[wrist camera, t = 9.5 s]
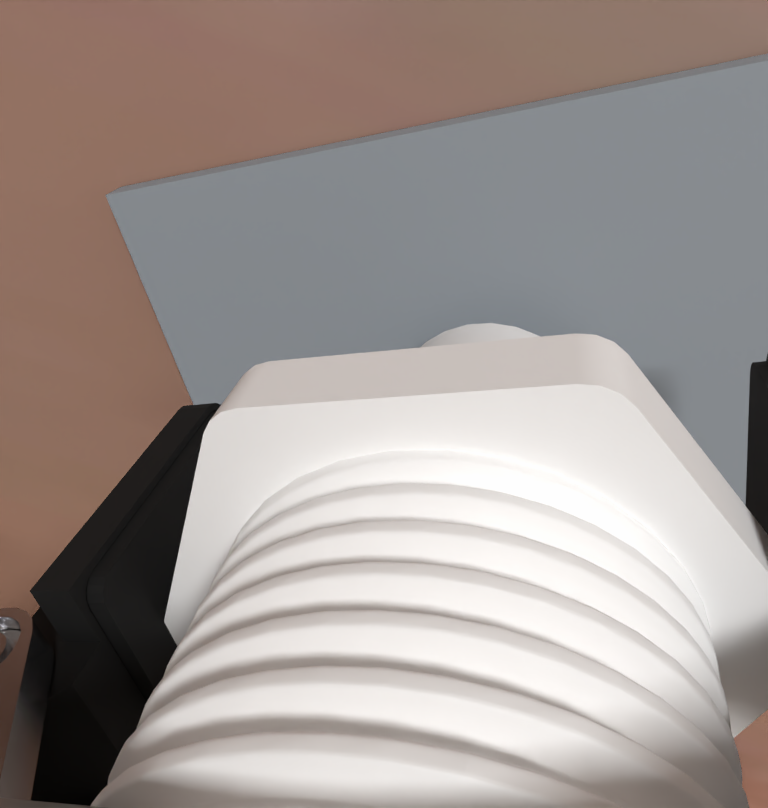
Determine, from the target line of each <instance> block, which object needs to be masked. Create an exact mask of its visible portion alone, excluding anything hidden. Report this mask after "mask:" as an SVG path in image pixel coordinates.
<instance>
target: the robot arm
mask: <svg viewBox="0 0 768 808" xmlns="http://www.w3.org/2000/svg"><path fill="white" fill-rule="evenodd" d="M220 406H221V404H218V403H209V404H199V405H189V406H183V407H182V408H180V409H179V410H178V411H177V413H176V414H175V415H174V416H173V417H172V419H171V420H170V421H169V422H168V423H167V425H166V426H165V427H164V428H163V430H162V431H161V432H160V433H159V434H158V436H157V437H156V438H155V439H154V441H153V442H152V443H151V444H150V445H149V447H148V448H147V449H146V450H145V451H144V453H143V454H142V455H141V456H140V458H139V459H138V460H137V461H136V462H135V464H134V465H133V466H132V467H131V469H130V470H129V471H128V472H127V473H126V475H125V476H124V477H123V478H122V479H121V481H120V482H119V483H118V484H117V486H116V487H115V488H114V489H113V490H112V492H111V493H110V494H109V495H108V497H107V498H106V499H105V500H104V501H103V503H102V504H101V505H100V506H99V507H98V509H97V510H96V511H95V512H94V514H93V515H92V516H91V517H90V518H89V520H88V521H87V522H86V523H85V525H84V526H83V527H82V528H81V529H80V531H79V532H78V533H77V534H76V535H75V537H74V538H73V539H72V540H71V542H70V543H69V544H68V545H67V546H66V548H65V549H64V550H63V551H62V553H61V554H60V555H59V556H58V557H57V559H56V560H55V561H54V562H53V563H52V565H51V566H50V567H49V568H48V570H47V571H46V572H45V573H44V574H43V576H42V577H41V578H40V579H39V581H38V582H37V583H36V584H35V585H34V587H33V588H32V589H31V590H30V592H31V593H32V595H33V596H34V598H35V599H36V601H37V602H38V604H39V605H40V608H39V609H38V610H37V612H36V613H35V614H34V615H33V617H32V618H31V617H30V615H29V614H28V612H27V611H24V610H21V609H19V608H1V609H0V808H106V807H95V806H91V804H92V802H93V801H94V800H95V798H96V797H97V796H98V794H99V793H100V792H101V791H102V790H103V789H104V788H105V787H106V786H107V785H108V778H109V774H110V772H111V770H112V768H113V766H114V764H115V761H116V759H117V757H118V755H119V753H120V751H121V749H122V747H123V745H124V743H125V742H126V740H127V739H128V738H129V737H130V736H131V735H132V734H133V733H134V732H135V730H136V728H137V726H138V723H139V720H140V718H141V715H142V712H143V709H144V707H145V704H146V702H147V701H148V699H149V697H150V695H151V694H152V692H153V690H154V689H155V687H156V686H157V685H158V684H159V682H160V681H161V680H162V678H163V676H164V673H165V670H166V667H167V665H168V663H169V661H170V659H171V657H172V656H173V654H174V652H175V650H176V648H177V644H176V643H175V641H174V639H173V637H172V635H171V633H170V632H169V630H168V628H167V626H166V624H165V623H164V619H165V614H166V609H167V604H168V600H169V595H170V590H171V585H172V581H173V576H174V571H175V566H176V561H177V557H178V552H179V547H180V542H181V538H182V533H183V528H184V523H185V519H186V514H187V509H188V504H189V500H190V495H191V490H192V485H193V481H194V476H195V471H196V466H197V462H198V457H199V452H200V447H201V443H202V438H203V433H204V431H205V429H206V427H207V425H208V423H209V421H210V419H211V418H212V417H213V415H214V414H215V413H216V411H217V410H218V409H219V407H220ZM746 507H747V508H748V510H749V511H750V512H751V514H752V515H753V516H754V517H755V519H756V520H757V521H758V523H759V524H760V525H761V526H762V528H763V529H764V530H765V532H766V533H767V534H768V354H767V358H766V361H762V362H753V363H752V364H751V368H750V386H749V416H748V446H747V476H746Z"/></svg>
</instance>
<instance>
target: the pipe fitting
mask: <svg viewBox="0 0 768 808" xmlns="http://www.w3.org/2000/svg"><path fill="white" fill-rule="evenodd" d="M164 623H165V624H166V626H167V628H168V630H169V632H170V633H171V635H172V637H173V639H174V641H175V643H176V644H177V648H176V650H175V652H174V654H173V656H172V657H171V659H170V661H169V663H168V665H167V667H166V670H165V673H164V676H163V678H162V680H161V681H160V682H159V684H158V685H157V686H156V687H155V689H154V690H153V692H152V694H151V695H150V697H149V699H148V701H147V702H146V704H145V707H144V709H143V712H142V715H141V718H140V720H139V723H138V726H137V728H136V730H135V732H134V733H133V734H132V735H131V736H130V737H129V738H128V739H127V740H126V742H125V743H124V745H123V747H122V749H121V751H120V753H119V755H118V757H117V759H116V761H115V764H114V766H113V768H112V770H111V772H110V774H109V778H108V785H107V786H106V787H105V788H104V789H103V790H102V791H101V792H100V793H99V794H98V796H97V797H96V798H95V800H94V801H93V802H92V804H91V806H95V807H106V808H749V805H748V801H747V797H746V794H745V791H744V789H743V788H742V771H741V765H740V760H739V755H738V751H737V748H736V745H735V742H734V737H735V736H737V735H738V734H739V733H740V732H741V731H743V730H744V729H745V728H746V727H747V726H749V725H750V724H751V723H752V722H753V721H754V720H756V719H757V718H758V717H759V716H760V715H762V714H763V713H764V712H765V711H766V710H768V534H767V533H766V532H765V530H764V529H763V528H762V526H761V525H760V524H759V523H758V521H757V520H756V519H755V517H754V516H753V515H752V514H751V512H750V511H749V510H748V508H747V507H746V506H745V504H744V503H743V502H742V501H741V499H740V498H739V497H738V495H737V494H736V493H735V492H734V490H733V489H732V488H731V486H730V485H729V484H728V483H727V481H726V480H725V479H724V477H723V476H722V475H721V473H720V472H719V471H718V470H717V468H716V467H715V466H714V464H713V463H712V462H711V461H710V459H709V458H708V457H707V455H706V454H705V453H704V452H703V450H702V449H701V448H700V446H699V445H698V444H697V442H696V441H695V440H694V439H693V437H692V436H691V435H690V433H689V432H688V431H687V430H686V428H685V427H684V426H683V424H682V423H681V422H680V420H679V419H678V418H677V417H676V415H675V414H674V413H673V411H672V410H671V409H670V408H669V406H668V405H667V404H666V402H665V401H664V400H663V399H662V397H661V396H660V395H659V393H658V392H657V391H656V389H655V388H654V387H653V386H652V384H651V383H650V382H649V380H648V379H647V378H646V377H645V375H644V374H643V373H642V371H641V370H640V369H639V368H638V366H637V365H636V364H635V362H634V361H633V360H632V358H631V357H630V356H629V355H628V354H627V353H626V352H625V351H624V350H623V349H622V348H621V347H619V346H618V345H617V344H616V343H615V342H613V341H611V340H608V339H606V338H603V337H601V336H598V335H593V334H576V333H575V334H564V335H553V336H542V337H540V336H538V335H536V334H533V333H531V332H528V331H526V330H523V329H520V328H518V327H514V326H508V325H502V324H495V323H483V324H467V325H464V326H460V327H457V328H454V329H450V330H447V331H444V332H442V333H441V334H439V335H437V336H435V337H434V338H432V339H430V340H428V341H427V342H425V343H424V344H423V345H422V346H421V347H420V348H410V349H399V350H388V351H377V352H366V353H355V354H344V355H333V356H322V357H311V358H300V359H289V360H278V361H268V362H265V363H261V364H258V365H255V366H253V367H252V368H251V369H250V370H248V371H247V372H246V373H244V375H243V376H242V377H241V379H240V380H239V381H238V383H237V384H236V386H235V387H234V388H233V390H232V391H231V392H230V394H229V395H228V396H227V398H226V399H225V400H224V402H223V403H222V405H221V406H220V407H219V409H218V410H217V411H216V413H215V414H214V415H213V417H212V418H211V419H210V421H209V423H208V425H207V427H206V429H205V431H204V433H203V438H202V443H201V447H200V452H199V457H198V462H197V466H196V471H195V476H194V481H193V485H192V490H191V495H190V500H189V504H188V509H187V514H186V519H185V523H184V528H183V533H182V538H181V542H180V547H179V552H178V557H177V561H176V566H175V571H174V576H173V581H172V585H171V590H170V595H169V600H168V604H167V609H166V614H165V619H164Z"/></svg>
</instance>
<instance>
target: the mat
mask: <svg viewBox="0 0 768 808" xmlns="http://www.w3.org/2000/svg"><path fill="white" fill-rule="evenodd" d="M106 197H107V200H108V202H109V205H110V207H111V209H112V212H113V214H114V217H115V219H116V221H117V224H118V226H119V228H120V231H121V233H122V236H123V238H124V240H125V243H126V245H127V247H128V250H129V252H130V255H131V257H132V259H133V262H134V264H135V266H136V269H137V271H138V274H139V276H140V278H141V281H142V283H143V285H144V288H145V290H146V293H147V295H148V297H149V300H150V302H151V304H152V307H153V309H154V312H155V314H156V316H157V319H158V321H159V323H160V326H161V328H162V331H163V333H164V335H165V338H166V340H167V342H168V345H169V347H170V350H171V352H172V354H173V357H174V359H175V361H176V364H177V366H178V369H179V371H180V373H181V376H182V378H183V380H184V383H185V385H186V388H187V390H188V392H189V395H190V397H191V399H192V402H193V404H194V405H199V404H209V403H218V404H221V405H222V403H223V402H224V400H225V399H226V398H227V396H228V395H229V394H230V392H231V391H232V390H233V388H234V387H235V386H236V384H237V383H238V381H239V380H240V379H241V377H242V376H243V375H244V373H246V372H247V371H248V370H250V369H251V368H252V367H253V366H255V365H258V364H261V363H265V362H268V361H278V360H289V359H300V358H311V357H322V356H333V355H344V354H355V353H366V352H377V351H388V350H399V349H410V348H420V347H421V346H422V345H423V344H424V343H425V342H427V341H428V340H430V339H432V338H434V337H435V336H437V335H439V334H441V333H442V332H444V331H447V330H450V329H454V328H457V327H460V326H464V325H467V324H483V323H495V324H502V325H508V326H514V327H518V328H520V329H523V330H526V331H528V332H531V333H533V334H536V335H538V336H540V337H542V336H553V335H564V334H575V333H576V334H593V335H598V336H601V337H603V338H606V339H608V340H611V341H613V342H615V343H616V344H617V345H618V346H619V347H621V348H622V349H623V350H624V351H625V352H626V353H627V354H628V355H629V356H630V357H631V358H632V360H633V361H634V362H635V364H636V365H637V366H638V368H639V369H640V370H641V371H642V373H643V374H644V375H645V377H646V378H647V379H648V380H649V382H650V383H651V384H652V386H653V387H654V388H655V389H656V391H657V392H658V393H659V395H660V396H661V397H662V399H663V400H664V401H665V402H666V404H667V405H668V406H669V408H670V409H671V410H672V411H673V413H674V414H675V415H676V417H677V418H678V419H679V420H680V422H681V423H682V424H683V426H684V427H685V428H686V430H687V431H688V432H689V433H690V435H691V436H692V437H693V439H694V440H695V441H696V442H697V444H698V445H699V446H700V448H701V449H702V450H703V452H704V453H705V454H706V455H707V457H708V458H709V459H710V461H711V462H712V463H713V464H714V466H715V467H716V468H717V470H718V471H719V472H720V473H721V475H722V476H723V477H724V479H725V480H726V481H727V483H728V484H729V485H730V486H731V488H732V489H733V490H734V492H735V493H736V494H737V495H738V497H739V498H740V499H741V501H742V502H743V503H744V504H745V506H746V476H747V446H748V416H749V386H750V368H751V364H752V363H753V362H762V361H766V358H767V354H768V54H764V55H759V56H754V57H749V58H744V59H739V60H734V61H730V62H725V63H720V64H715V65H710V66H705V67H700V68H696V69H691V70H686V71H681V72H676V73H671V74H667V75H662V76H657V77H652V78H647V79H642V80H637V81H633V82H628V83H623V84H618V85H613V86H608V87H604V88H599V89H594V90H589V91H584V92H579V93H574V94H570V95H565V96H560V97H555V98H550V99H545V100H540V101H536V102H531V103H526V104H521V105H516V106H511V107H507V108H502V109H497V110H492V111H487V112H482V113H477V114H473V115H468V116H463V117H458V118H453V119H448V120H443V121H439V122H434V123H429V124H424V125H419V126H414V127H410V128H405V129H400V130H395V131H390V132H385V133H380V134H376V135H371V136H366V137H361V138H356V139H351V140H347V141H342V142H337V143H332V144H327V145H322V146H317V147H313V148H308V149H303V150H298V151H293V152H288V153H283V154H279V155H274V156H269V157H264V158H259V159H254V160H250V161H245V162H240V163H235V164H230V165H225V166H220V167H216V168H211V169H206V170H201V171H196V172H191V173H186V174H182V175H177V176H172V177H167V178H162V179H157V180H153V181H148V182H143V183H138V184H133V185H128V186H123V187H120V188H118V189H116V190H114V191H112V192H111V193H109V194H107V195H106Z"/></svg>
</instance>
